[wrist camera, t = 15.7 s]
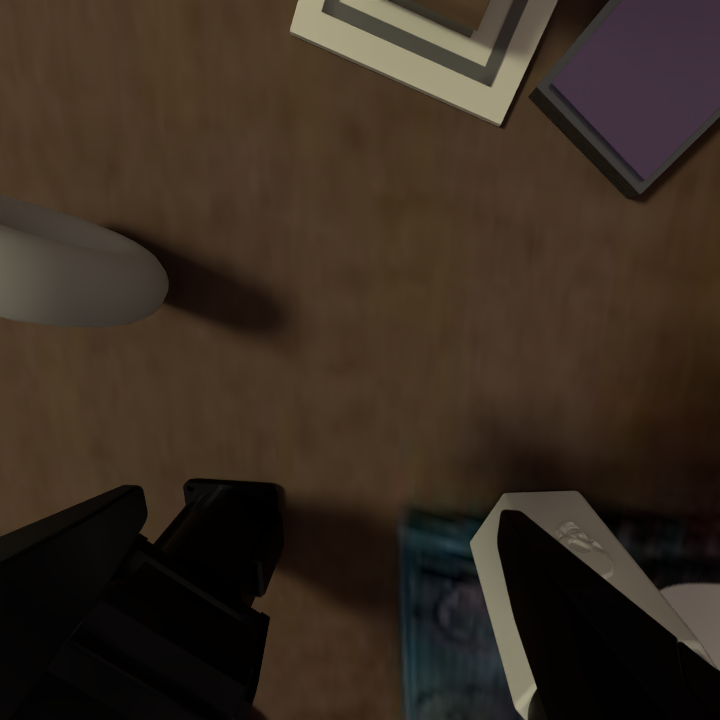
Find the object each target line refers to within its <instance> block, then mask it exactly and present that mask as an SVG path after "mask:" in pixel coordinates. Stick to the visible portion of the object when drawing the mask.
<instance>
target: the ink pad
mask: <svg viewBox="0 0 720 720" xmlns="http://www.w3.org/2000/svg"><path fill="white" fill-rule="evenodd" d="M529 98H530V99H531V100H532V101H533V102H534V103H535V104H536V105H537V106H538V107H539V108H540V109H541V110H542V111H543V112H544V114H545V115H546V116H547V117H548V118H549V119H550V120H551V121H552V122H553V123H554V124H555V125H556V126H557V127H558V128H559V129H560V130H561V131H562V132H563V133H564V134H565V135H566V136H567V137H568V138H569V139H570V140H571V141H572V142H573V143H574V144H575V145H576V146H577V148H578V149H579V150H580V151H581V152H582V153H583V154H584V155H585V156H586V157H587V158H588V159H589V160H590V161H591V162H592V163H593V164H594V165H595V166H596V167H597V168H598V169H599V170H600V171H601V172H602V173H603V174H604V175H605V176H606V177H607V178H608V179H609V180H610V181H611V183H612V184H613V185H614V186H615V187H616V188H617V189H618V190H619V191H620V192H621V193H622V194H623V195H624V196H625V197H626V198H630V197H633V196H637V195H641V194H642V193H643V192H644V191H645V190H646V189H647V188H648V187H649V186H650V185H651V184H652V183H653V182H654V181H655V180H656V179H657V178H658V177H659V176H660V175H661V174H662V173H663V172H664V171H665V170H666V169H667V168H668V167H669V166H670V165H671V164H672V163H673V162H674V161H675V160H676V159H677V158H678V157H679V156H680V155H681V154H682V153H683V152H684V151H685V150H686V149H687V148H688V147H689V146H690V145H691V144H692V143H693V142H694V141H695V140H697V139H698V138H699V137H700V136H701V135H702V134H703V133H704V132H705V131H706V130H707V129H708V128H709V127H710V126H711V125H712V124H713V123H714V122H715V121H716V120H717V119H718V118H719V117H720V0H609V1H608V3H607V4H606V5H605V6H604V7H603V9H602V10H601V11H600V12H599V13H598V15H597V16H596V17H595V18H594V19H593V20H592V22H591V23H590V24H589V25H588V26H587V28H586V29H585V30H584V31H583V32H582V34H581V35H580V36H579V37H578V38H577V39H576V41H575V42H574V43H573V44H572V45H571V47H570V48H569V49H568V50H567V51H566V53H565V54H564V55H563V56H562V57H561V58H560V60H559V61H558V62H557V63H556V64H555V66H554V67H553V68H552V69H551V70H550V72H549V73H548V74H547V75H546V76H545V78H544V79H543V80H542V81H541V82H540V83H539V85H538V86H537V87H536V88H535V89H534V91H533V92H532V93H531V94H530V95H529Z"/></svg>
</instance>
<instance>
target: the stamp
mask: <svg viewBox="0 0 720 720" xmlns="http://www.w3.org/2000/svg"><path fill="white" fill-rule="evenodd" d="M388 1H390V2H392V3H395V4H397V5H399V6H401V7H403V8H406V9H408V10H410V11H412V12H414V13H416V14H419V15H421V16H423V17H425V18H427V19H430V20H432V21H434V22H436V23H438V24H440V25H443V26H445V27H447V28H449V29H451V30H453V31H456V32H458V33H460V34H462V35H464V36H467V37H469V38H471V35H472V33H473V30H476V31H478V28H479V26H480V23H481V21H482V19H483V16H484V14H485V12H486V9H487V7H488V4H489V2H490V0H388Z"/></svg>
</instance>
